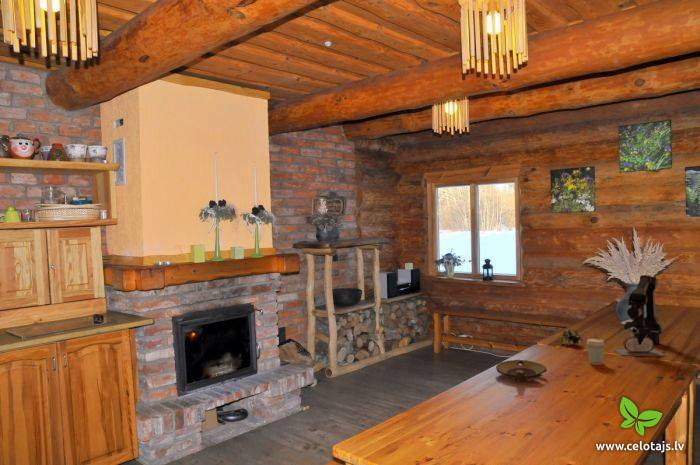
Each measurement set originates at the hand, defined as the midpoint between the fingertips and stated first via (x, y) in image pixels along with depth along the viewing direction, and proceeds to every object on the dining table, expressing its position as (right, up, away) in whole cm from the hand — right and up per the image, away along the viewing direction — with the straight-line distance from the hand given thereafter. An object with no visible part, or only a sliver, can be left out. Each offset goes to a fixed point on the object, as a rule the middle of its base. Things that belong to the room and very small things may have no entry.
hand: (638, 343), depth 283 cm
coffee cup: (-32, -6, -19) cm, 38 cm away
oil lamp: (-79, -8, -41) cm, 89 cm away
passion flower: (-28, -6, +21) cm, 36 cm away
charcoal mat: (0, -5, 0) cm, 5 cm away
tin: (0, -5, 0) cm, 5 cm away
